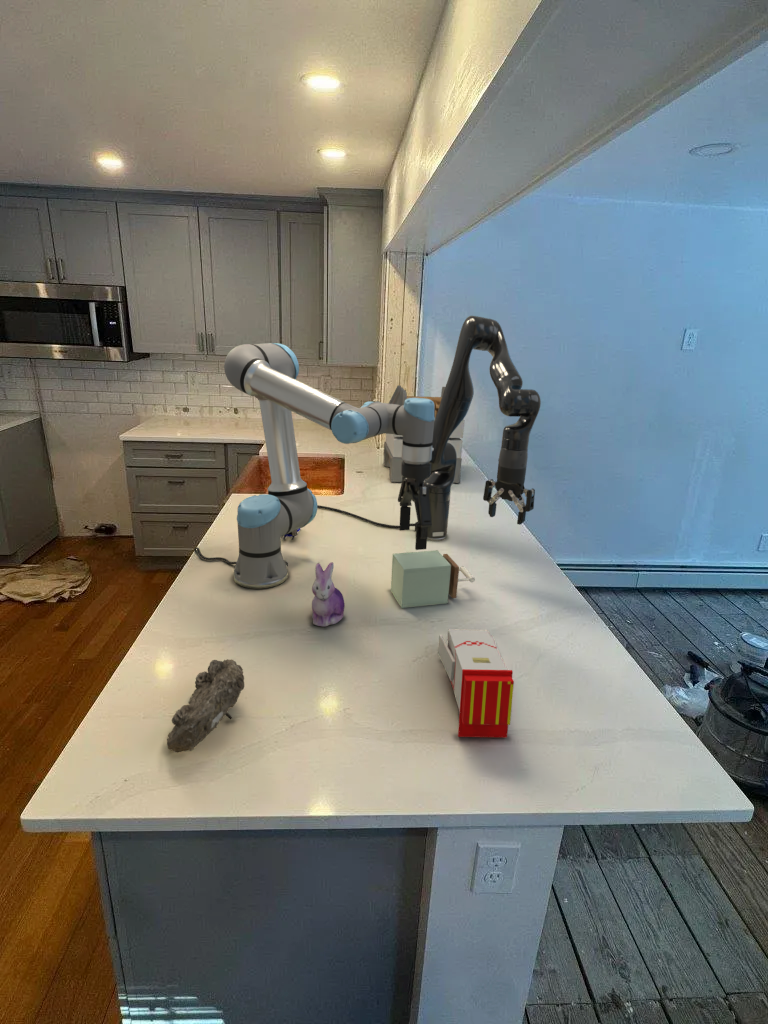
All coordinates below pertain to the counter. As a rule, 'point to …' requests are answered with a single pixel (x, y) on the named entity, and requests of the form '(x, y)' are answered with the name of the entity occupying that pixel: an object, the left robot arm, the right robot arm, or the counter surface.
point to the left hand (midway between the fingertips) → (412, 539)
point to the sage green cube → (420, 578)
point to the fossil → (206, 705)
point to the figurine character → (291, 534)
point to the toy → (478, 682)
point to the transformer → (395, 441)
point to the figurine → (326, 598)
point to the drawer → (456, 576)
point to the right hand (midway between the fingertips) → (505, 520)
